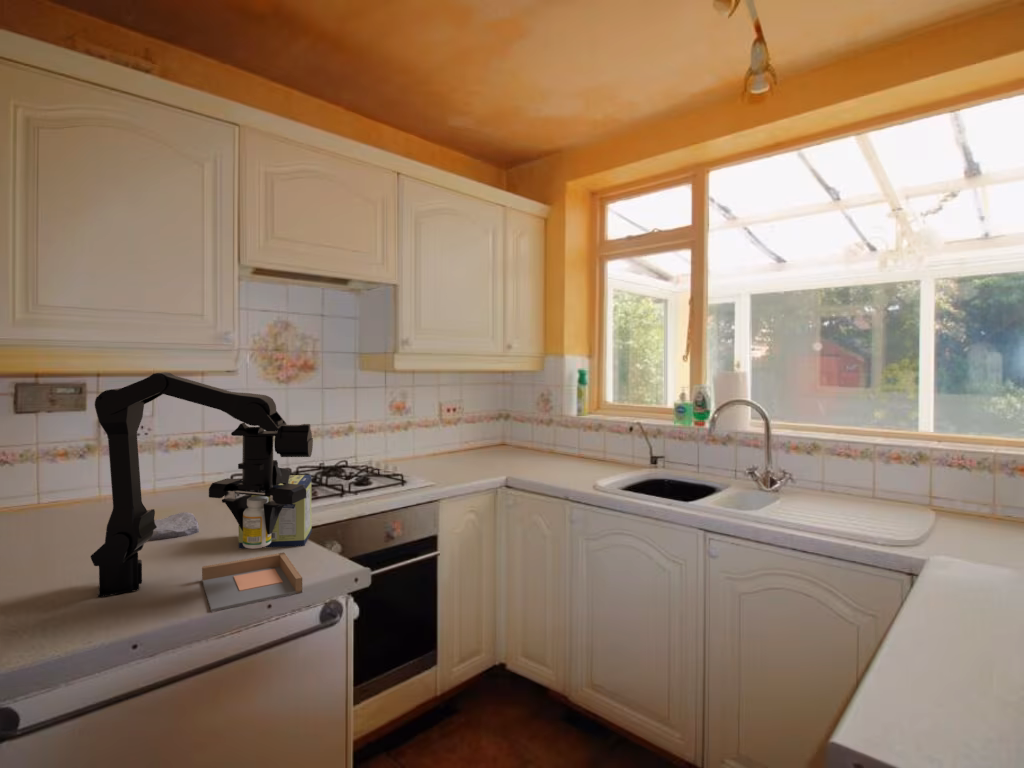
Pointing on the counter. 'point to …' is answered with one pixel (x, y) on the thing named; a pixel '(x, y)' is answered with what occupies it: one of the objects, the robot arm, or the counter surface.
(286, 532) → the protein box
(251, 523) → the supplement bottle
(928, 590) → the counter surface
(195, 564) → the counter surface
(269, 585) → the tray
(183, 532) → the grey rock
